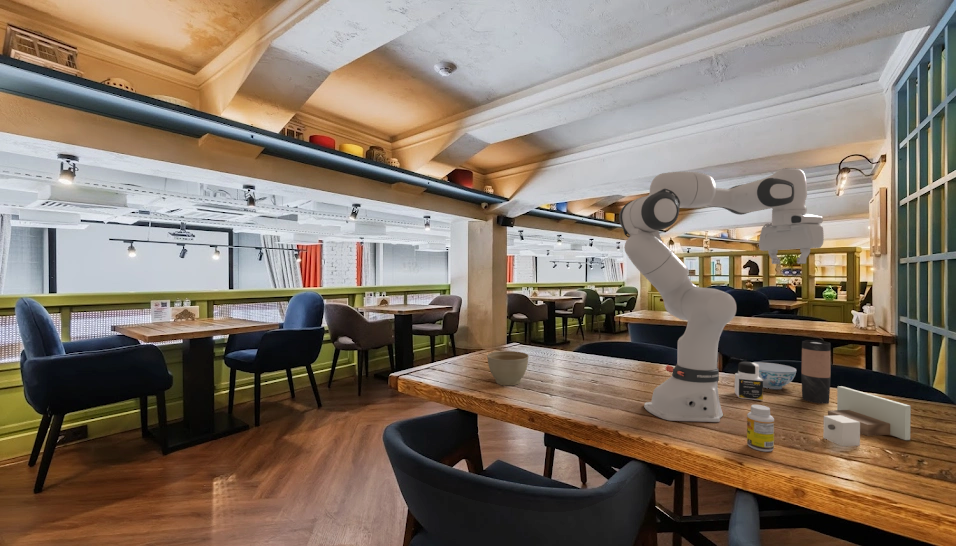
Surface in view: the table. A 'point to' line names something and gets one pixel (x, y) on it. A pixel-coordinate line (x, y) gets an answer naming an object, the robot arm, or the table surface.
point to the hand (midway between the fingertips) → (788, 263)
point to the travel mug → (815, 371)
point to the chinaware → (775, 375)
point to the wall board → (877, 409)
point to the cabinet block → (841, 430)
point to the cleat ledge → (865, 422)
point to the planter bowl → (507, 366)
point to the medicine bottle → (748, 381)
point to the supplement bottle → (760, 428)
